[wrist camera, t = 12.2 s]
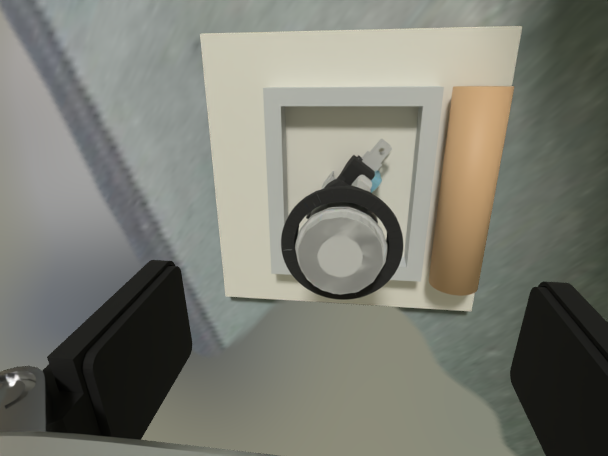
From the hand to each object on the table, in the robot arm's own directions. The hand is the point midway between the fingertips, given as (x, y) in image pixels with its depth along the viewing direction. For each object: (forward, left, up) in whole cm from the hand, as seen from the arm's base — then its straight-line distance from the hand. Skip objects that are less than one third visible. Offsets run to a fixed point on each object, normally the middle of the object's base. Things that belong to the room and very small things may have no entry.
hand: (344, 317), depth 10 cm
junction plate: (0, +1, -17) cm, 17 cm away
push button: (0, 0, -16) cm, 16 cm away
